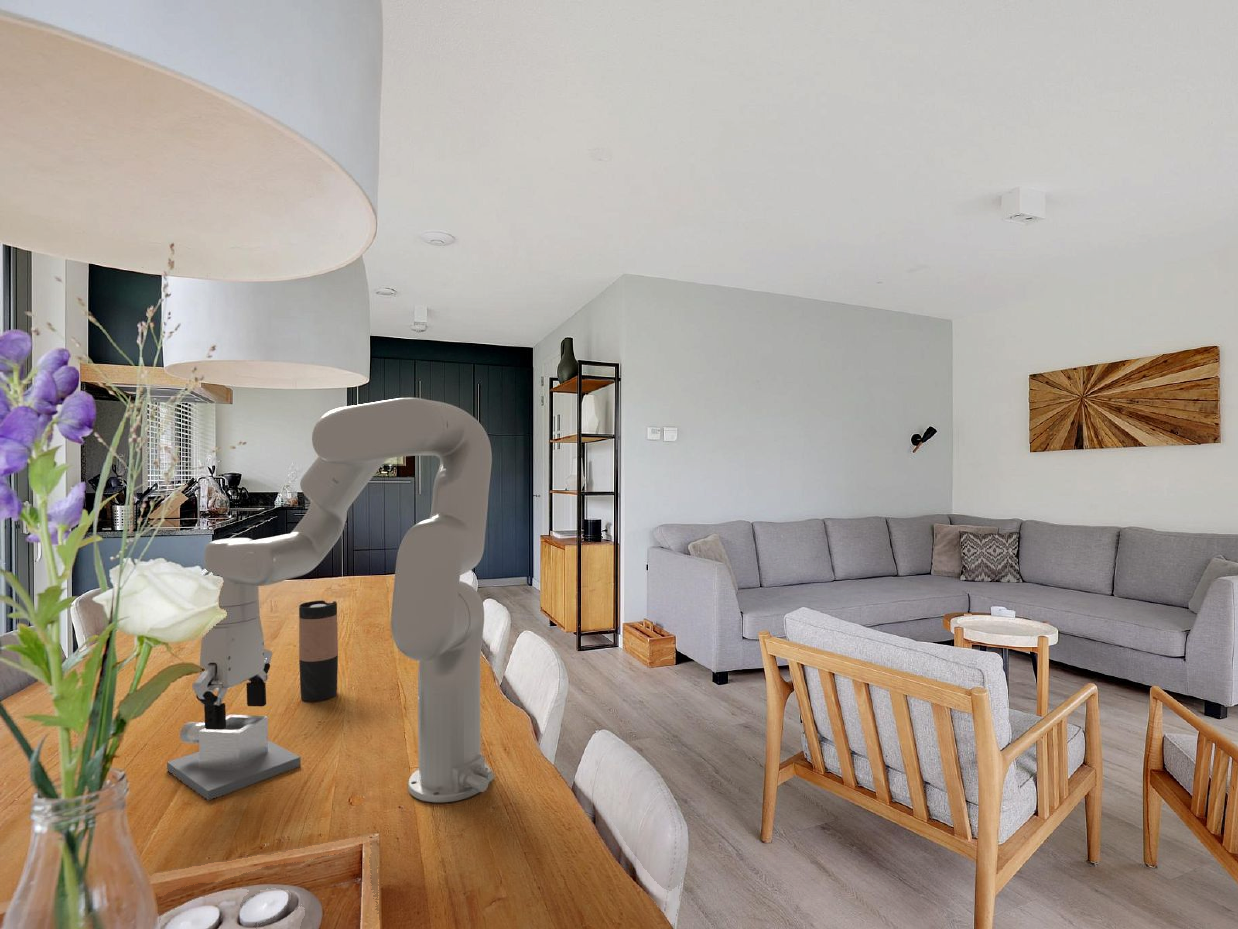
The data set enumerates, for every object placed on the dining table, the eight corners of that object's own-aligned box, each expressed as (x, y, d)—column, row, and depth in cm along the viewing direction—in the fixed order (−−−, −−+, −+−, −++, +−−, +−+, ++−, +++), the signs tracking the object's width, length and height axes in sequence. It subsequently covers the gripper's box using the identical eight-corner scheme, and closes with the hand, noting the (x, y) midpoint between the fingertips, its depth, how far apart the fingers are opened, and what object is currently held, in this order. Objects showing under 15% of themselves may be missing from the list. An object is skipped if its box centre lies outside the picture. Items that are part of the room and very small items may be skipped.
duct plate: (300, 766, 110) (300, 730, 110) (208, 801, 99) (207, 761, 99) (255, 741, 120) (255, 708, 120) (167, 771, 108) (166, 734, 108)
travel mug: (301, 705, 137) (300, 609, 137) (297, 694, 144) (296, 602, 144) (341, 698, 141) (340, 605, 141) (335, 687, 148) (334, 598, 148)
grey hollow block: (267, 751, 112) (267, 716, 112) (239, 770, 105) (239, 733, 105) (203, 748, 114) (202, 713, 114) (171, 767, 107) (170, 730, 107)
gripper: (248, 602, 118) (251, 697, 118) (171, 626, 101) (175, 738, 101) (287, 602, 117) (290, 698, 117) (216, 626, 100) (220, 739, 100)
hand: (237, 716), depth 109 cm, fingers open, 9 cm apart
